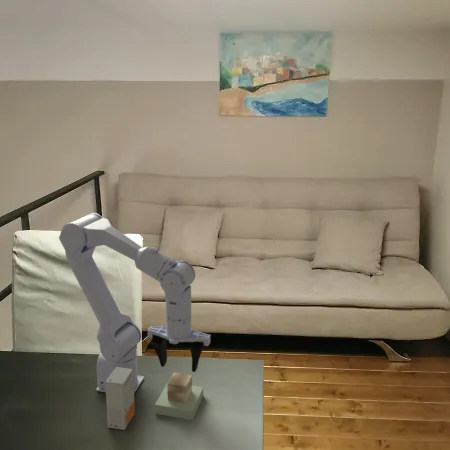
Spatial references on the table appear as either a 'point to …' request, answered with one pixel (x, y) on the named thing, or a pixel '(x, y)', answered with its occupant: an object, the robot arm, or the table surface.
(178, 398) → the maple cube
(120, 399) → the skincare box
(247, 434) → the table surface
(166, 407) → the sage base
